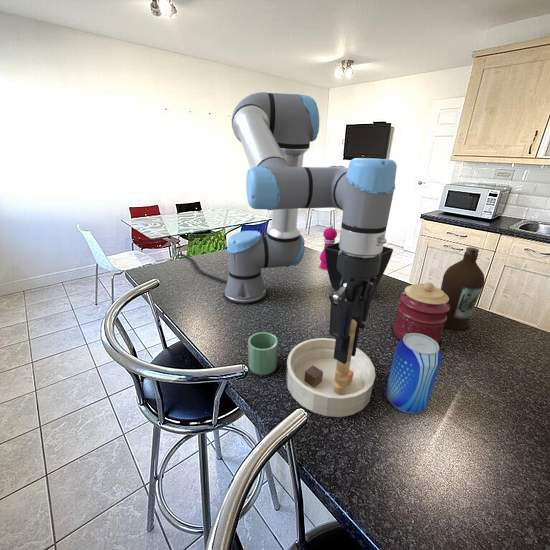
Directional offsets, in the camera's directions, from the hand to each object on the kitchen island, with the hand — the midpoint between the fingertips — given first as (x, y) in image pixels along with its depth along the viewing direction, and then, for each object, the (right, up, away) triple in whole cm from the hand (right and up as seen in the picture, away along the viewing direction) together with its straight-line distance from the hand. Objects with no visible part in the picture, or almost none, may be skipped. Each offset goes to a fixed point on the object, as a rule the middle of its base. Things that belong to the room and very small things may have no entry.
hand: (344, 356), depth 62 cm
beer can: (+14, -11, +3) cm, 18 cm away
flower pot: (+17, +12, +55) cm, 58 cm away
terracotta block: (+1, -8, +7) cm, 11 cm away
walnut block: (-6, -8, +7) cm, 12 cm away
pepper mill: (+9, +21, +74) cm, 77 cm away
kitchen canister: (+27, -1, +26) cm, 38 cm away
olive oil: (+42, +2, +33) cm, 54 cm away
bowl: (-2, -9, +7) cm, 12 cm away
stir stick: (0, -9, +4) cm, 9 cm away
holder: (-18, -6, +12) cm, 22 cm away
